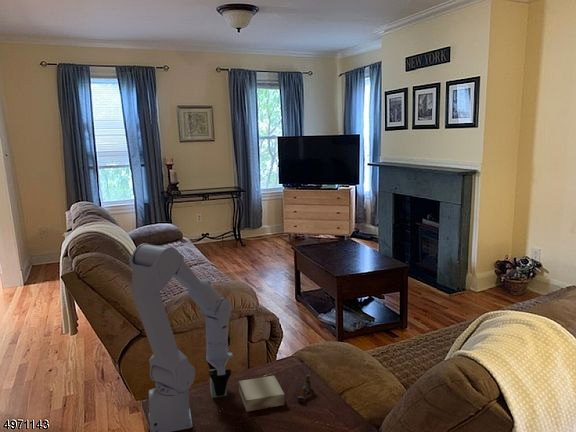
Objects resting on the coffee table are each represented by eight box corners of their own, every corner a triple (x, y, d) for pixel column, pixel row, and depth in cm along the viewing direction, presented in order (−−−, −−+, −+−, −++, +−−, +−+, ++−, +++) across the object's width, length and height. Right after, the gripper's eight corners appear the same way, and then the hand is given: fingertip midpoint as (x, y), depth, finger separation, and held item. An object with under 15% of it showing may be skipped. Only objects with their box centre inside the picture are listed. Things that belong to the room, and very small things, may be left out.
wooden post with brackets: (313, 383, 119) (312, 372, 117) (306, 408, 113) (303, 397, 111) (307, 382, 120) (305, 371, 118) (299, 407, 113) (297, 396, 111)
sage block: (212, 398, 114) (211, 376, 113) (210, 390, 118) (209, 369, 117) (226, 395, 115) (226, 374, 114) (224, 388, 119) (224, 367, 118)
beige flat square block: (246, 411, 107) (246, 400, 107) (239, 391, 117) (238, 381, 116) (284, 404, 110) (284, 393, 110) (274, 385, 120) (274, 375, 119)
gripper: (236, 349, 109) (237, 399, 110) (227, 328, 122) (228, 373, 124) (208, 353, 107) (210, 404, 108) (202, 331, 120) (204, 376, 122)
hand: (218, 387), depth 116 cm, fingers open, 7 cm apart
